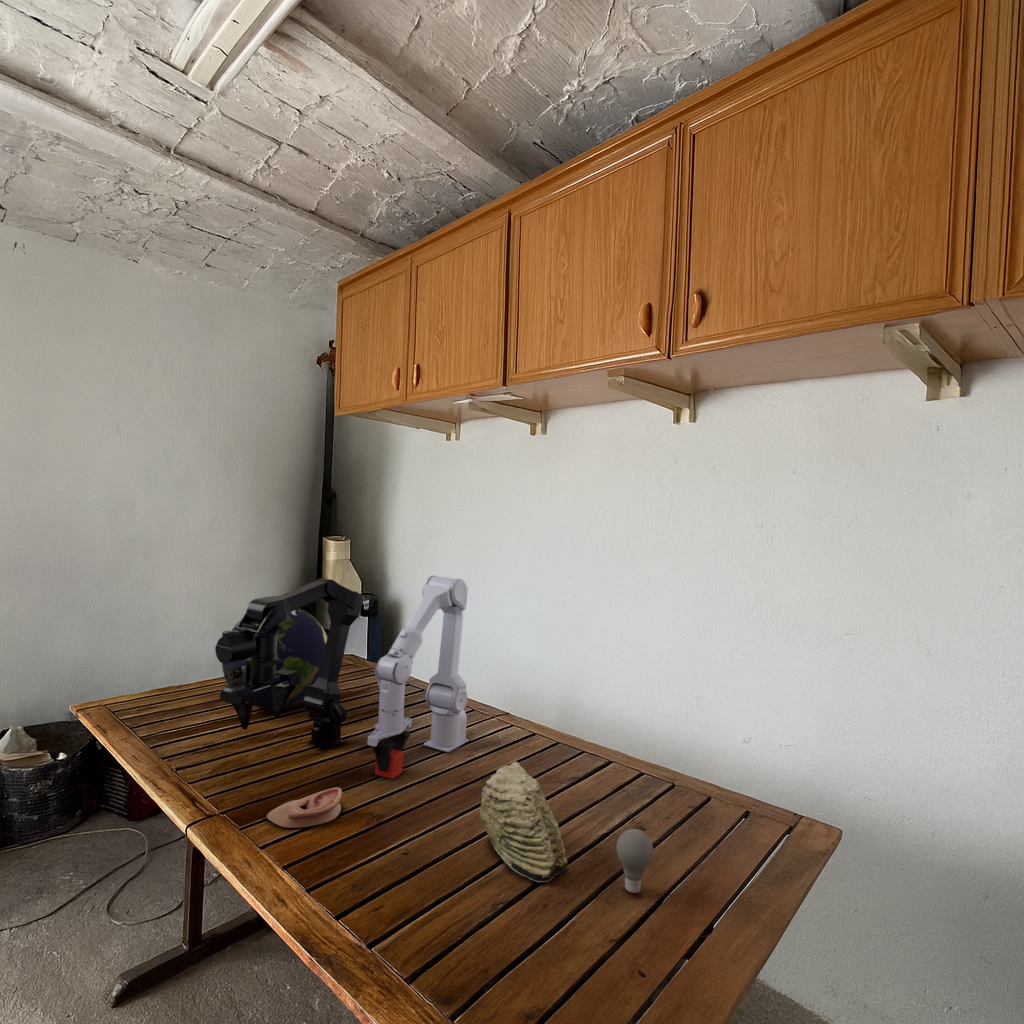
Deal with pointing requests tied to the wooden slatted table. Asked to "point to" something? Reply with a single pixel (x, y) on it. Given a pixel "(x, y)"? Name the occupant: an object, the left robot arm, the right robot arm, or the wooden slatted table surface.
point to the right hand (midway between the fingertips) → (389, 766)
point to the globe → (293, 656)
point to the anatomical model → (308, 810)
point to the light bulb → (634, 857)
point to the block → (392, 765)
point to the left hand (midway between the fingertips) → (260, 722)
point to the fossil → (522, 824)
